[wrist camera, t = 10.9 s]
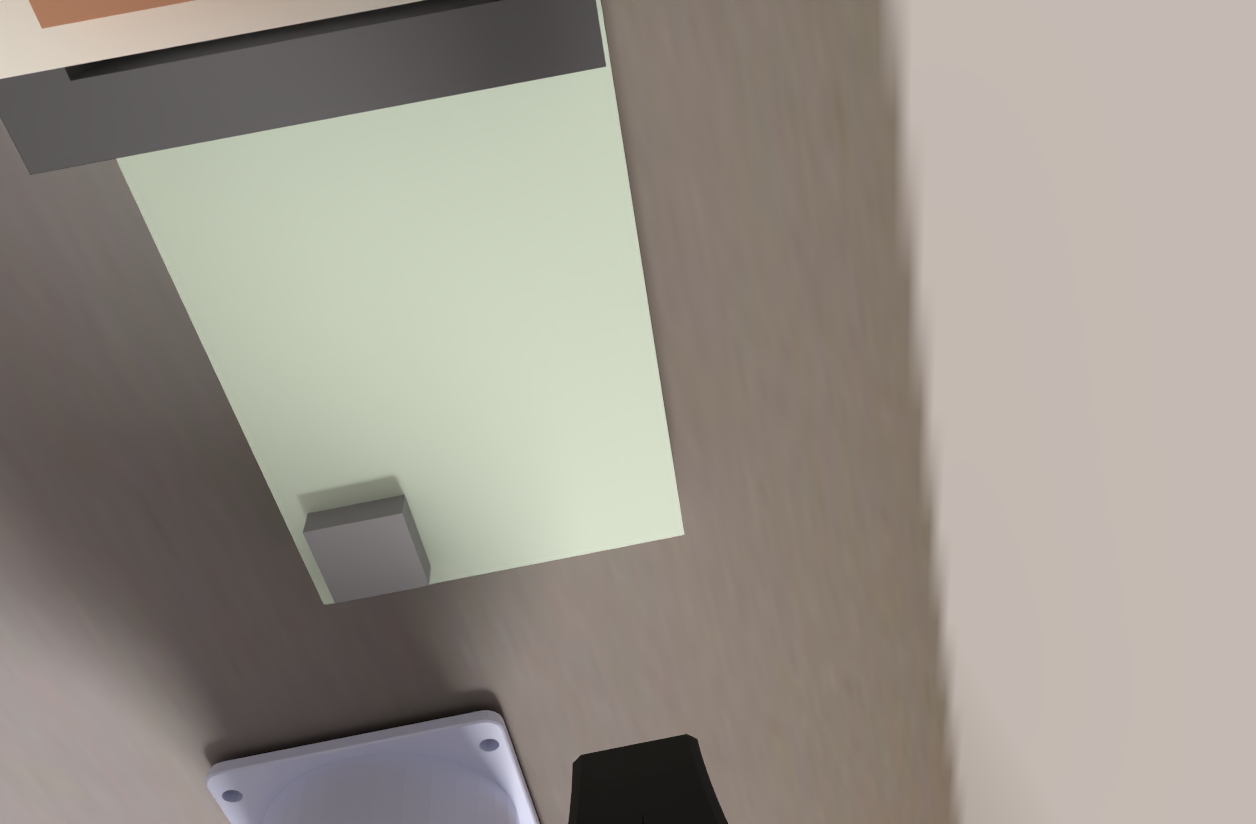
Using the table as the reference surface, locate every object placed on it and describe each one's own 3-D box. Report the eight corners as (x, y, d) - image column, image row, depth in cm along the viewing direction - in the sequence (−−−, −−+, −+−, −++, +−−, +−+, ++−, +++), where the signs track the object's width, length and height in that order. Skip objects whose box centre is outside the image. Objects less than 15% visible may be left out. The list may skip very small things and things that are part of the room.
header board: (673, 492, 22) (710, 635, 18) (333, 558, 22) (300, 716, 18) (457, -857, 11) (437, -1208, 7) (-237, -736, 11) (-638, -1029, 7)
